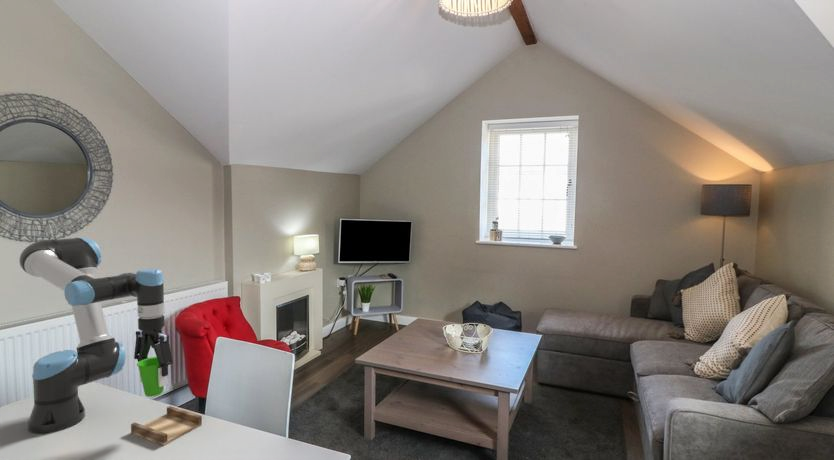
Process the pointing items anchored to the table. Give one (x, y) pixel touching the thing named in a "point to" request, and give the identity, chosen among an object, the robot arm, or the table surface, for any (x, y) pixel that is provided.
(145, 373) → the cup
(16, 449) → the table surface
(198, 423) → the wooden tray
